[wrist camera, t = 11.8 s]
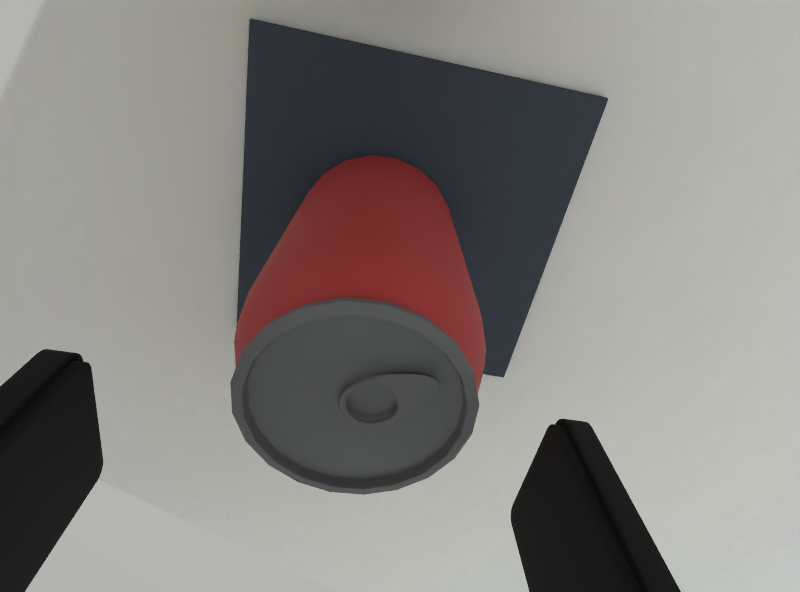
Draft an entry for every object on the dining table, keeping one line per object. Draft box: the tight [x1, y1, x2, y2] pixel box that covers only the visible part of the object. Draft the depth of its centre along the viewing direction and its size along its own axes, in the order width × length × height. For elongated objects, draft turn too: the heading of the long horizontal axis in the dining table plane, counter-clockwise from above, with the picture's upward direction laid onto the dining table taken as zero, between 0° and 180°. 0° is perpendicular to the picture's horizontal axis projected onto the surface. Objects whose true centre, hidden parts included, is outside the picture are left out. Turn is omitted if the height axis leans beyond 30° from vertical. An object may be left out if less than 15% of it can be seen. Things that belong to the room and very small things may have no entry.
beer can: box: [231, 155, 486, 494], centre depth 16 cm, size 7×7×12 cm
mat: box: [237, 19, 608, 377], centre depth 21 cm, size 14×14×1 cm
